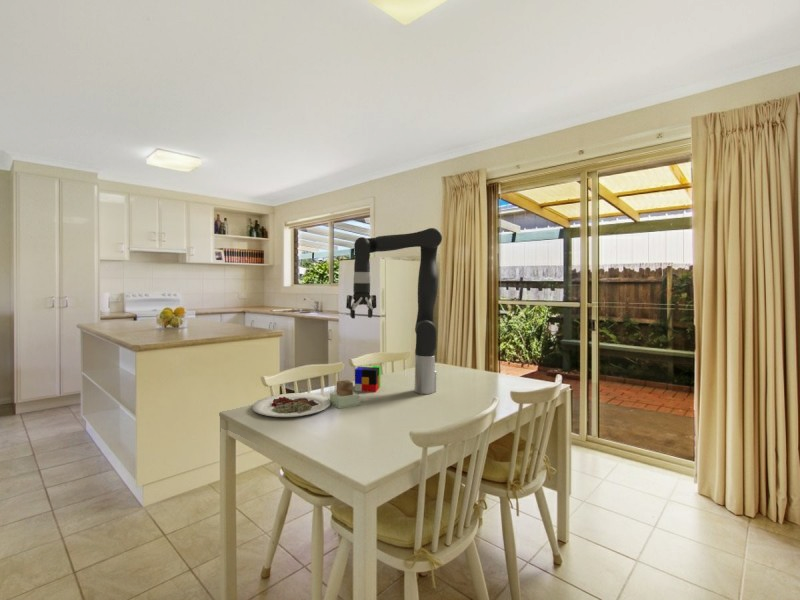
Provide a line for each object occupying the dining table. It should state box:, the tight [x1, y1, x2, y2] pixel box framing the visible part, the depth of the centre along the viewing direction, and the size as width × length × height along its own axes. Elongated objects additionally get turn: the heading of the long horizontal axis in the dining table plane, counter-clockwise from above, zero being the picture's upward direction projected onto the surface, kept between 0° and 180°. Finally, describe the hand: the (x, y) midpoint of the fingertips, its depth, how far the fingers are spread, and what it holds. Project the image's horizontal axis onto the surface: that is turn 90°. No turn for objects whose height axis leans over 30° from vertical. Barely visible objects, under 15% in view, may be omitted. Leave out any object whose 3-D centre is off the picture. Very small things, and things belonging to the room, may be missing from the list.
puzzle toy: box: [354, 364, 382, 393], centre depth 193 cm, size 10×10×10 cm
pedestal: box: [329, 391, 362, 410], centre depth 169 cm, size 10×10×4 cm
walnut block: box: [336, 379, 354, 396], centre depth 169 cm, size 5×5×5 cm
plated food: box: [252, 392, 331, 418], centre depth 163 cm, size 30×30×3 cm
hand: (361, 318), depth 185 cm, fingers open, 8 cm apart
